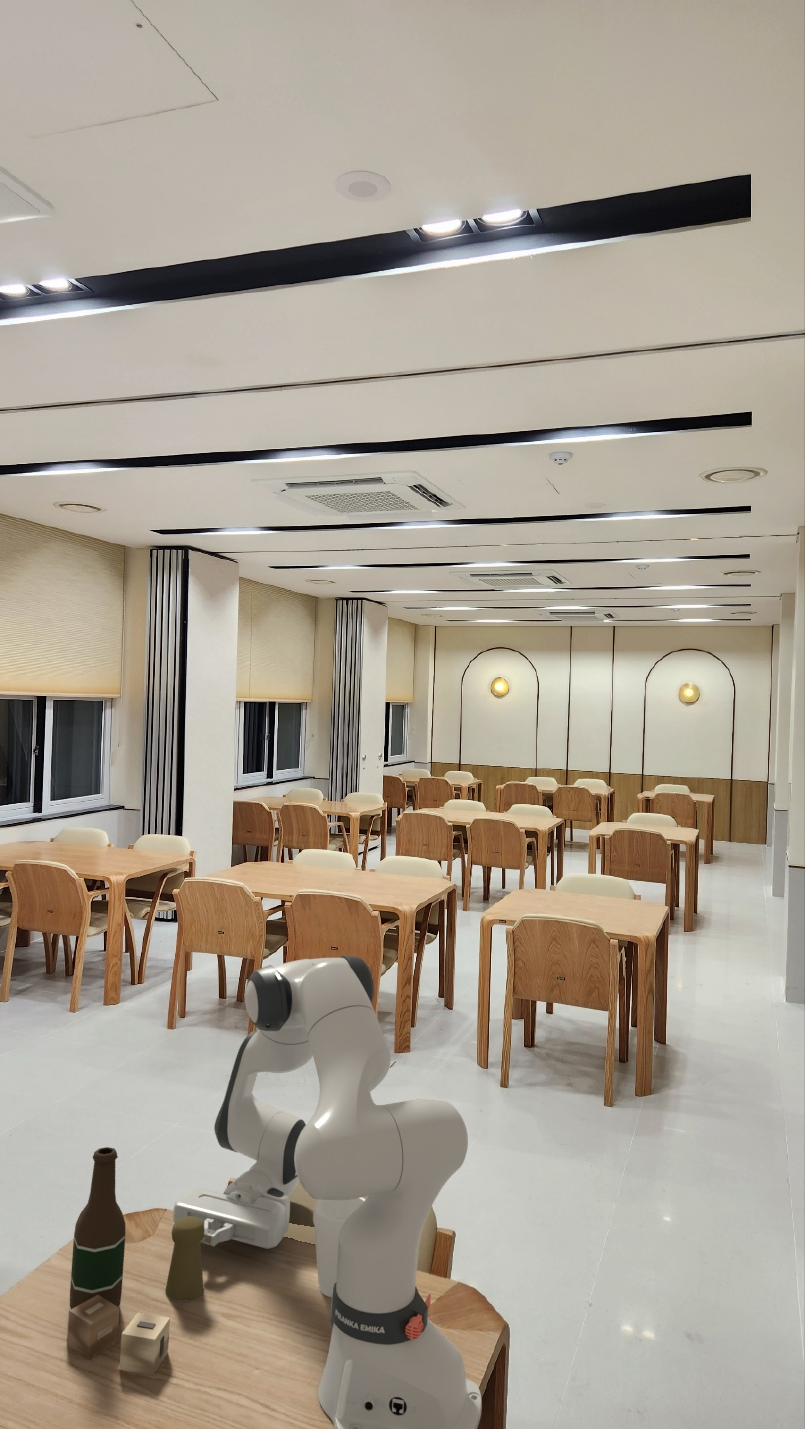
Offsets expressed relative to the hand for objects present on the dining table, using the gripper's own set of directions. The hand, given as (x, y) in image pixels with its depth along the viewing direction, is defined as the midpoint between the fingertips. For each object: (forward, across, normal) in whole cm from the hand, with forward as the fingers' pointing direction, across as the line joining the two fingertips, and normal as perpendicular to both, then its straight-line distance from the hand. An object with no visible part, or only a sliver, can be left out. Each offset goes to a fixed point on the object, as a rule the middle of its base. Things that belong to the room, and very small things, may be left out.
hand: (205, 1239), depth 151 cm
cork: (+5, 0, +6) cm, 8 cm away
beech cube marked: (+22, +4, +6) cm, 23 cm away
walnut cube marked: (+22, -5, +6) cm, 23 cm away
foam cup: (-6, +22, +6) cm, 23 cm away
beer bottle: (+15, -10, +6) cm, 19 cm away
